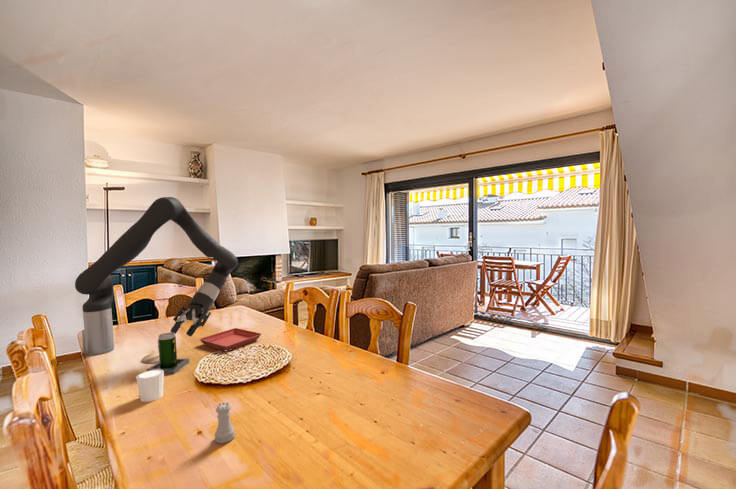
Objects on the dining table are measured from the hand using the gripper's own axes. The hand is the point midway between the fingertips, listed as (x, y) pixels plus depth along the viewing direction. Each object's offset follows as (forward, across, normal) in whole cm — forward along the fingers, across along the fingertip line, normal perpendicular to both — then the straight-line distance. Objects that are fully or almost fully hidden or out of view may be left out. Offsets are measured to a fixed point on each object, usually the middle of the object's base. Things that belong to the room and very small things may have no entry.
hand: (180, 334), depth 128 cm
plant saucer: (-8, 0, +24) cm, 26 cm away
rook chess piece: (+27, +52, -12) cm, 60 cm away
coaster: (+7, -13, +8) cm, 17 cm away
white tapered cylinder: (+23, +16, -8) cm, 29 cm away
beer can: (+11, 0, +4) cm, 12 cm away
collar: (+11, 0, +4) cm, 12 cm away
